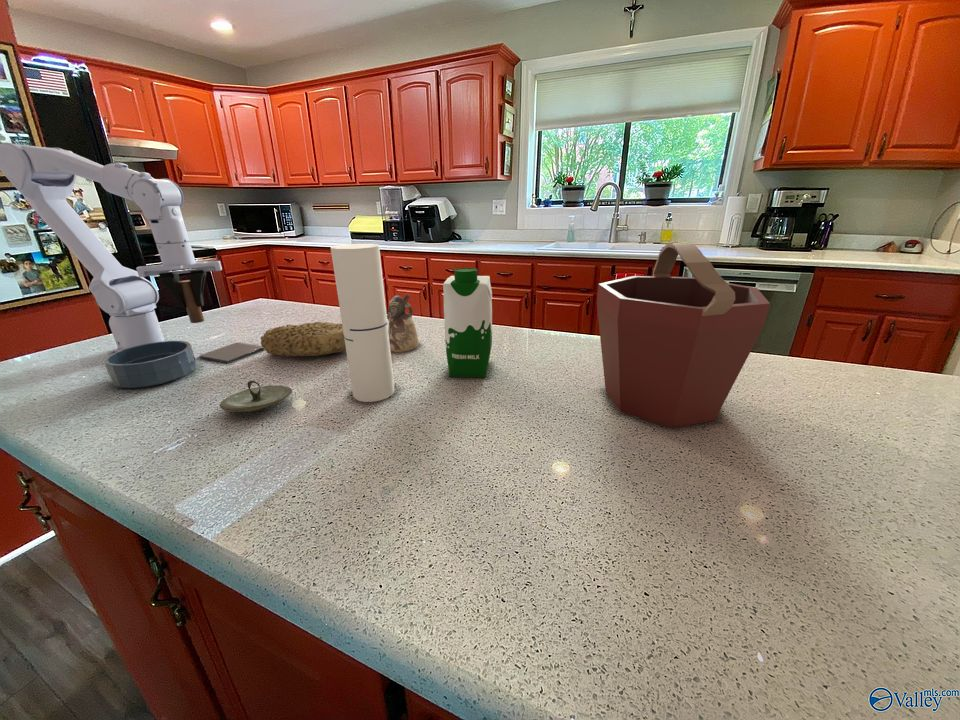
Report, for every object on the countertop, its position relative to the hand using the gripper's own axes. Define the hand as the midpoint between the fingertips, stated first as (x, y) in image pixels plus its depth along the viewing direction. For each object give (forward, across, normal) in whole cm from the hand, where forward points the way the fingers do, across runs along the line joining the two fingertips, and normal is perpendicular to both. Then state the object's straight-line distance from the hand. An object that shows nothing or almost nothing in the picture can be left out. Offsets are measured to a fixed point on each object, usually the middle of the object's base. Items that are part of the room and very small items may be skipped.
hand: (192, 306), depth 87 cm
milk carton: (+11, +51, -36) cm, 63 cm away
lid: (+11, +13, -35) cm, 39 cm away
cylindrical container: (+11, +32, -38) cm, 51 cm away
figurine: (+11, +42, -17) cm, 46 cm away
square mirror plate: (+10, +6, -4) cm, 13 cm away
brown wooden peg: (+3, 0, 0) cm, 3 cm away
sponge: (+11, +23, -12) cm, 29 cm away
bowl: (+10, -6, -12) cm, 17 cm away
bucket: (+12, +74, -61) cm, 97 cm away
